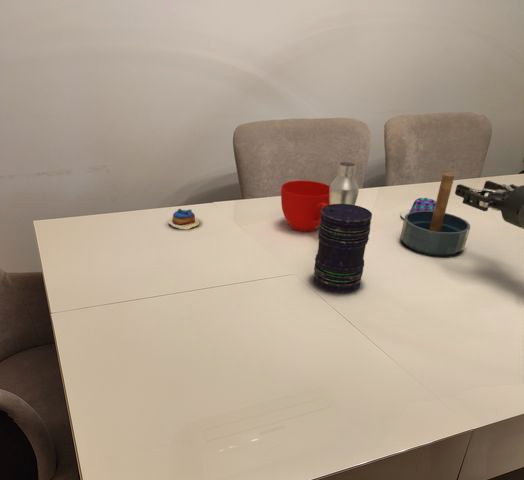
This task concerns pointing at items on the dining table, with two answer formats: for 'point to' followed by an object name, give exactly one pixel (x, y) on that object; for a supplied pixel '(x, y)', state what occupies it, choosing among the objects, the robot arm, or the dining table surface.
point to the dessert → (184, 219)
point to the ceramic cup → (304, 203)
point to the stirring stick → (441, 202)
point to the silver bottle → (344, 185)
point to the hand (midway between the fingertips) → (471, 187)
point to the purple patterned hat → (421, 206)
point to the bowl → (434, 234)
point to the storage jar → (341, 247)
